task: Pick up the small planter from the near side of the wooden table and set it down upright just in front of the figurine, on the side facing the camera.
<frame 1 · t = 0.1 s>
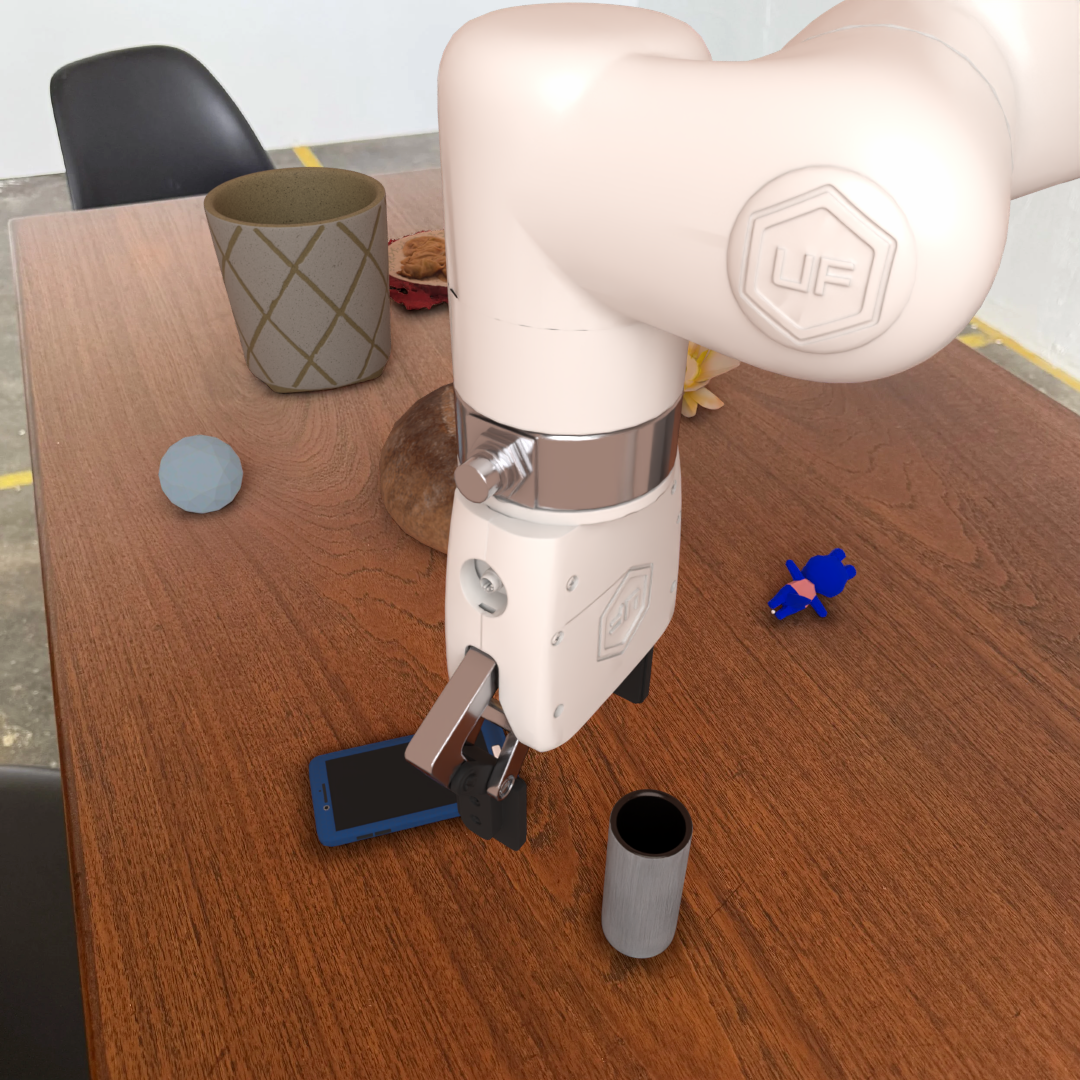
hand: (558, 754, 43), 21 cm above the table, tool pointing down, fingers open, 9 cm apart
planter 2: (321, 363, 116), on the table
bread: (516, 494, 95), on the table
plate with food: (453, 270, 138), on the table
gemstone: (207, 498, 94), on the table
planter: (638, 925, 59), on the table
cell phone: (415, 783, 67), on the table
decorative flower: (661, 397, 110), on the table
figurine: (808, 610, 82), on the table
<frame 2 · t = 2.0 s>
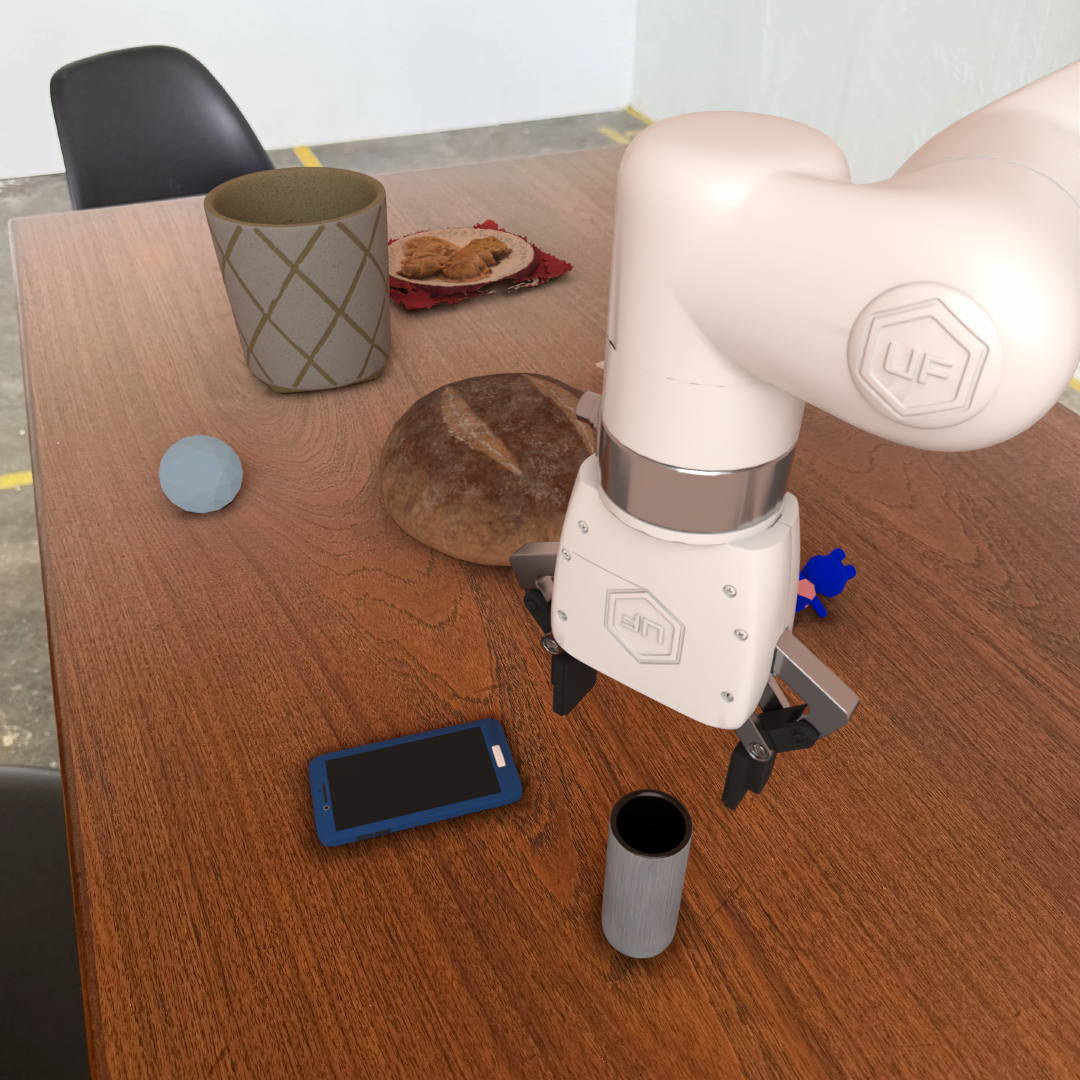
hand: (654, 741, 49), 17 cm above the table, tool pointing down, fingers open, 9 cm apart
nothing on the table moved.
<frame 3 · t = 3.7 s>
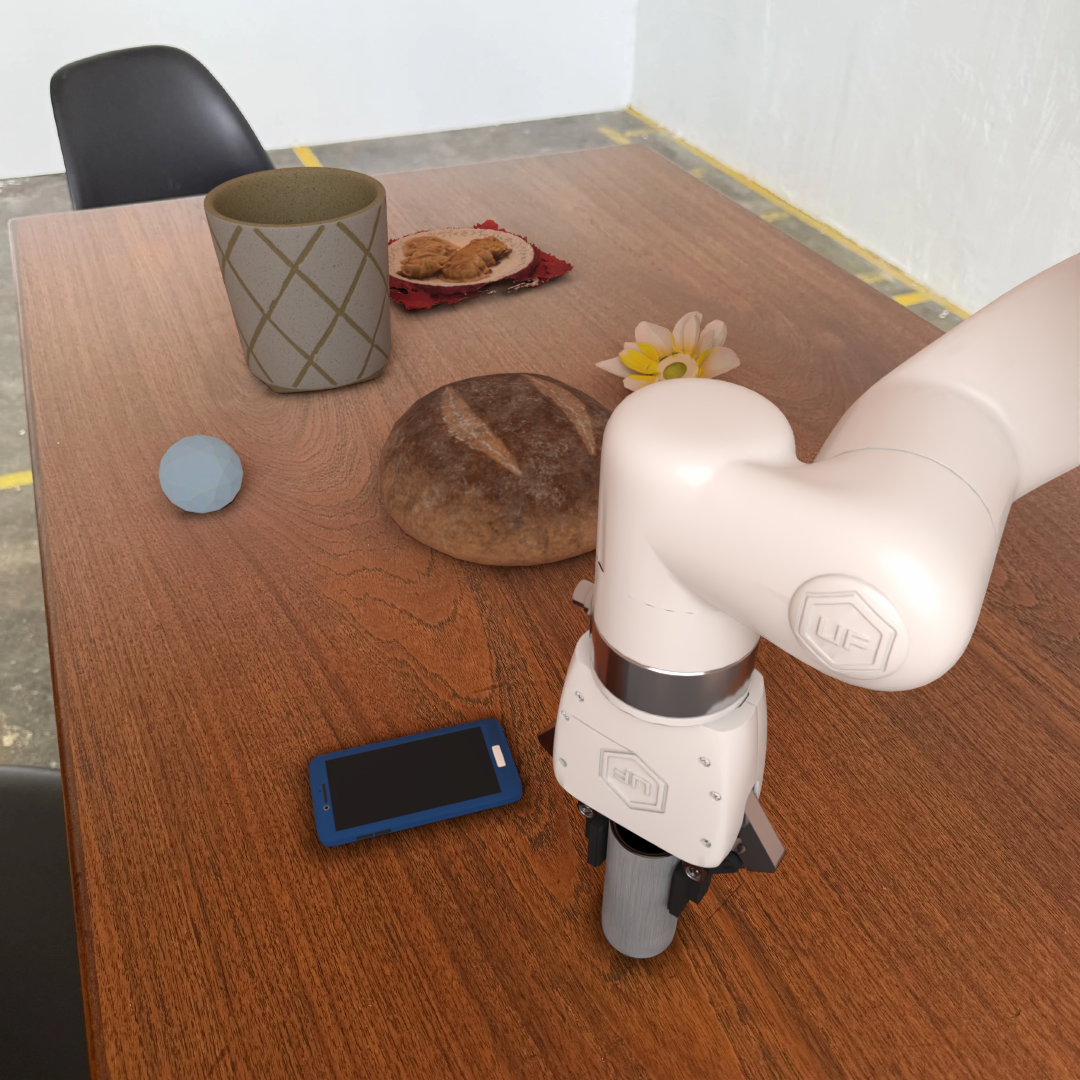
hand: (645, 869, 55), 6 cm above the table, tool pointing down, fingers closed on planter, 4 cm apart
planter: (638, 925, 59), on the table, touching gripper
everything else where it was.
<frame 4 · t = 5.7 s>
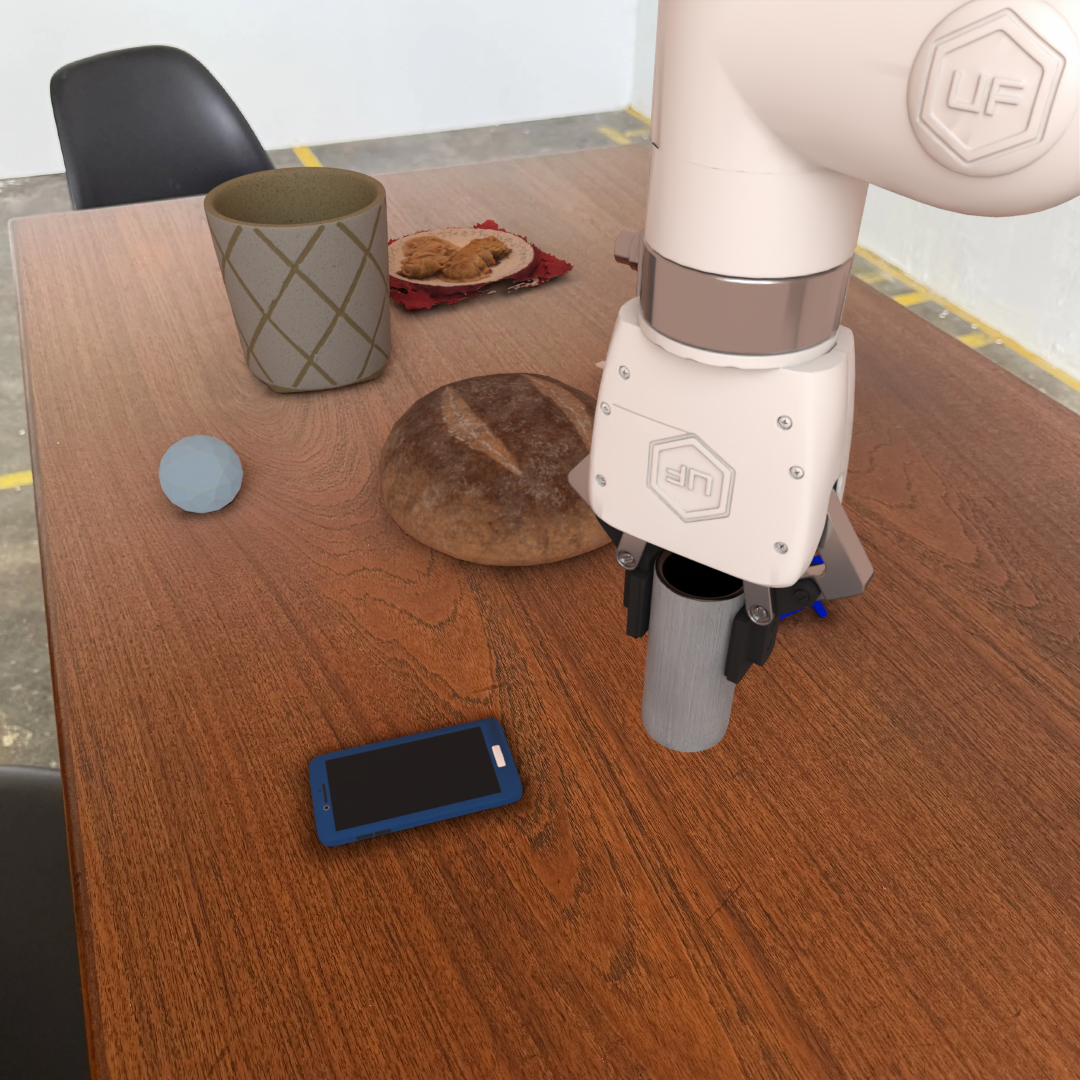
hand: (695, 639, 47), 22 cm above the table, tool pointing down, fingers closed on planter, 4 cm apart
planter: (683, 722, 51), point 16 cm above the table, touching gripper
everything else where it was.
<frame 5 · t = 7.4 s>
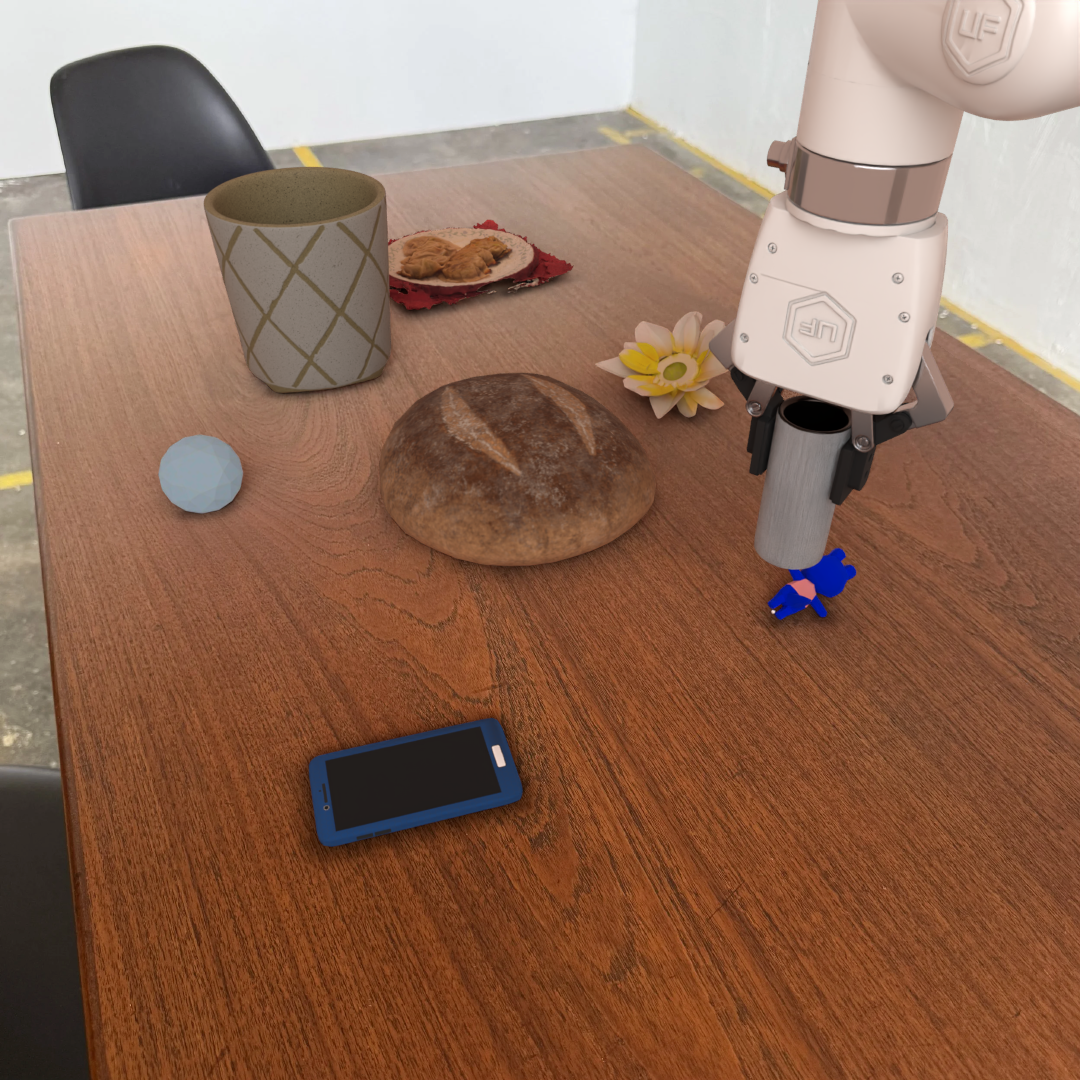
hand: (803, 476, 60), 21 cm above the table, tool pointing down, fingers closed on planter, 4 cm apart
planter: (787, 551, 64), point 15 cm above the table, touching gripper
everything else where it was.
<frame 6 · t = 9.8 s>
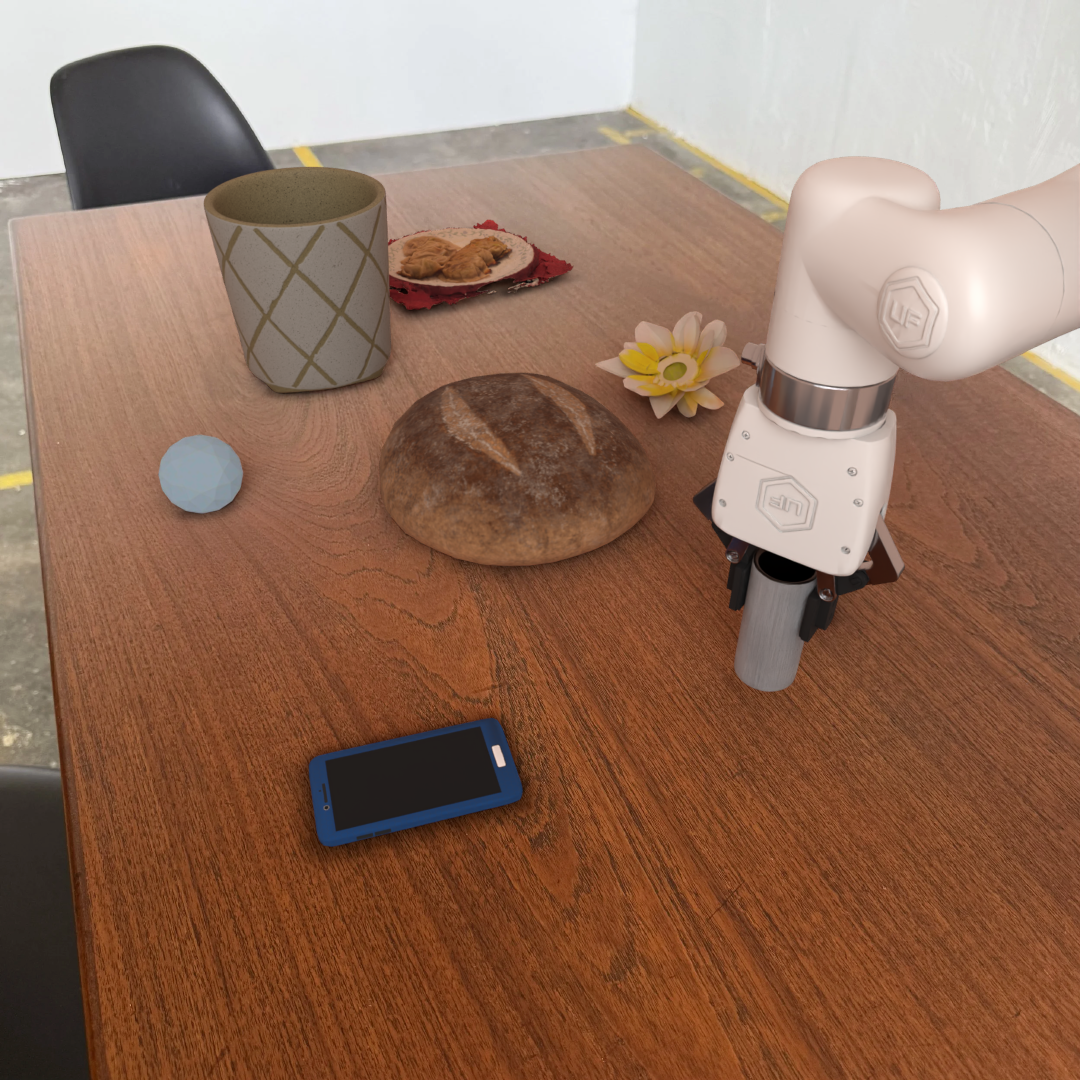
hand: (776, 612, 68), 9 cm above the table, tool pointing down, fingers closed on planter, 4 cm apart
planter: (764, 671, 71), point 3 cm above the table, touching gripper
everything else where it was.
when the fingers open (6 cm above the table, at t = 11.1 s): planter stays where it is, on the table.
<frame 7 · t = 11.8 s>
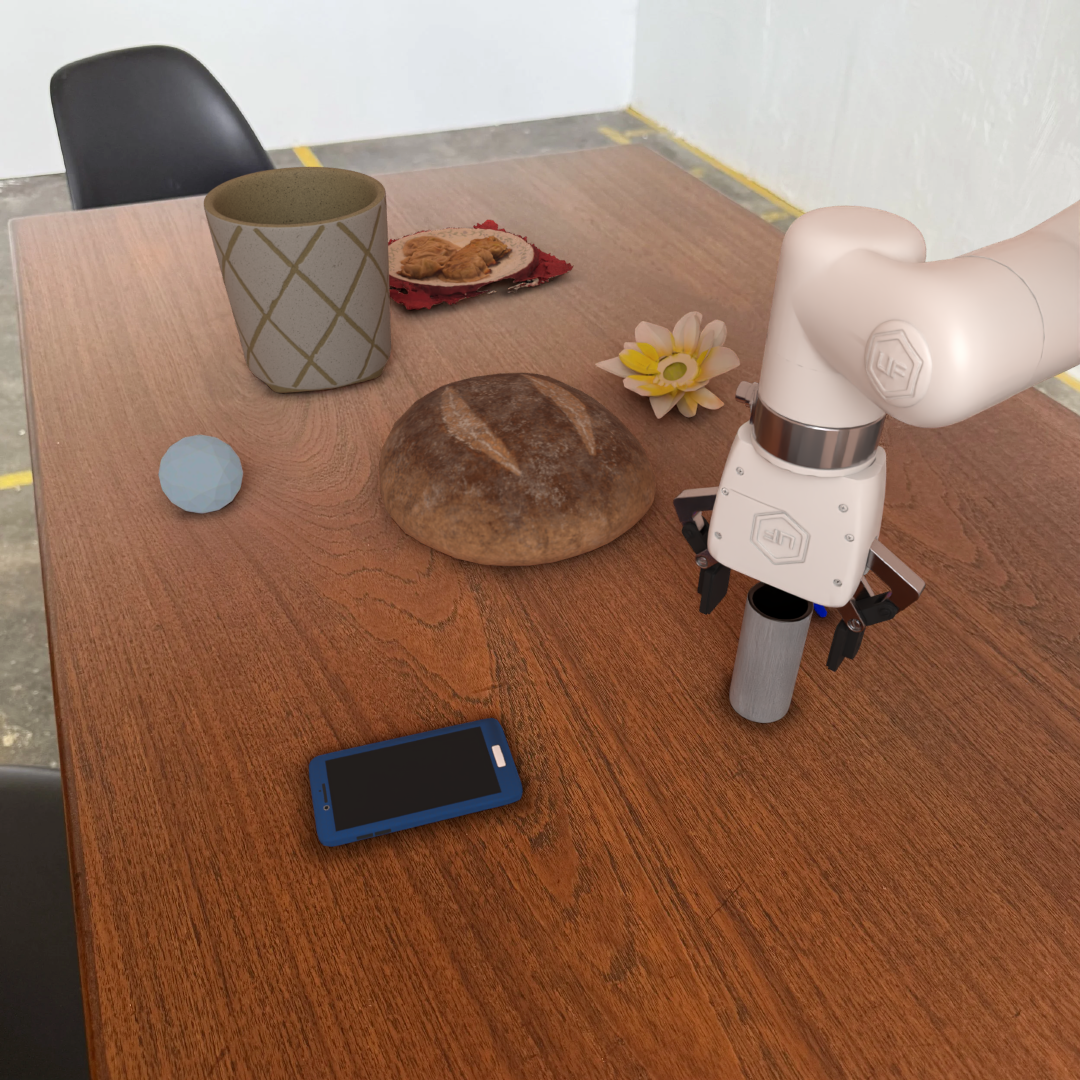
hand: (773, 630, 69), 7 cm above the table, tool pointing down, fingers open, 9 cm apart
planter: (758, 702, 73), on the table
everything else where it was.
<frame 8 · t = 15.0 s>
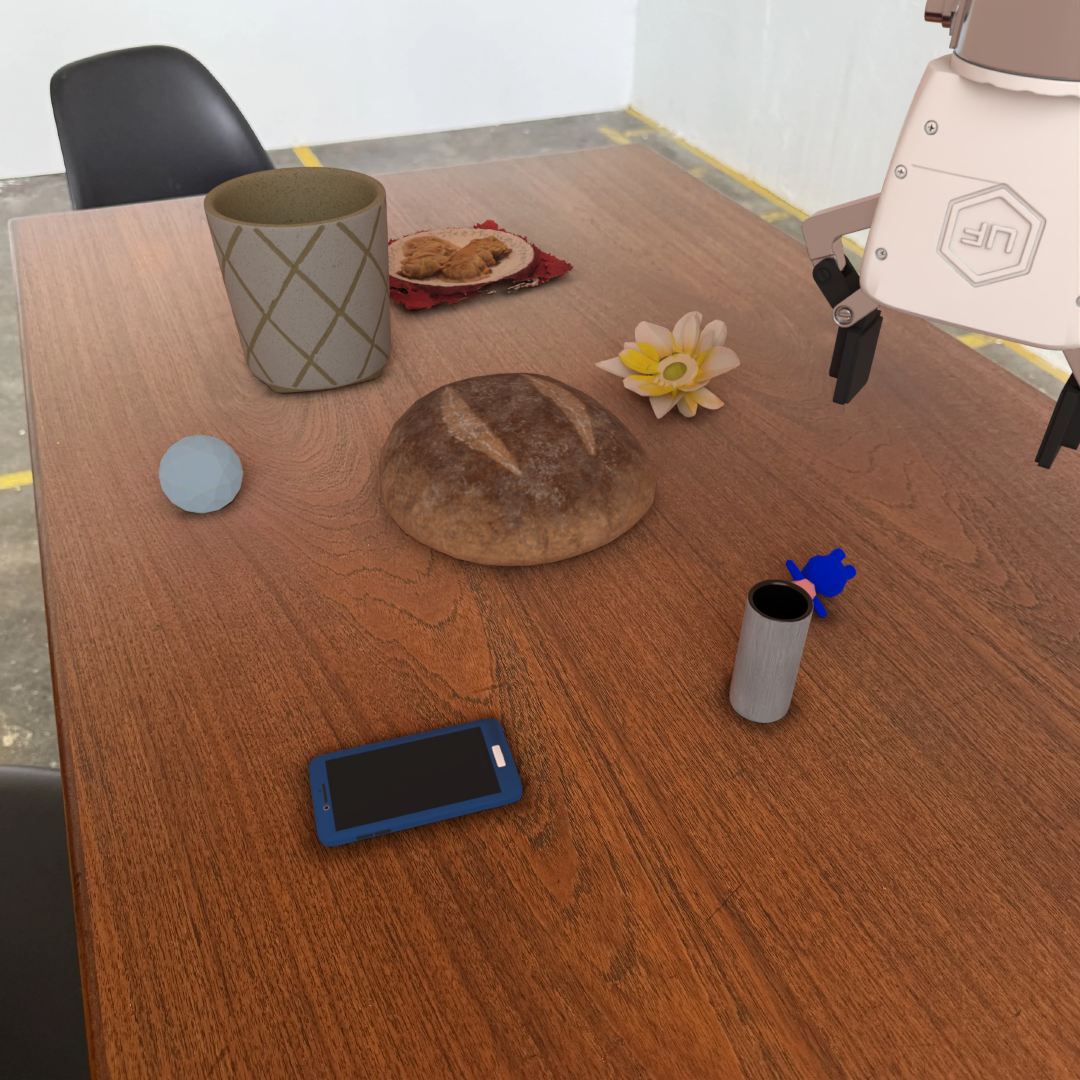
hand: (944, 422, 47), 30 cm above the table, tool pointing down, fingers open, 9 cm apart
nothing on the table moved.
at the end: planter inside the target area on the table beside the figurine (1.5 cm from its centre), on the table; planter tilted 0°; figurine moved 0.2 cm from its start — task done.
